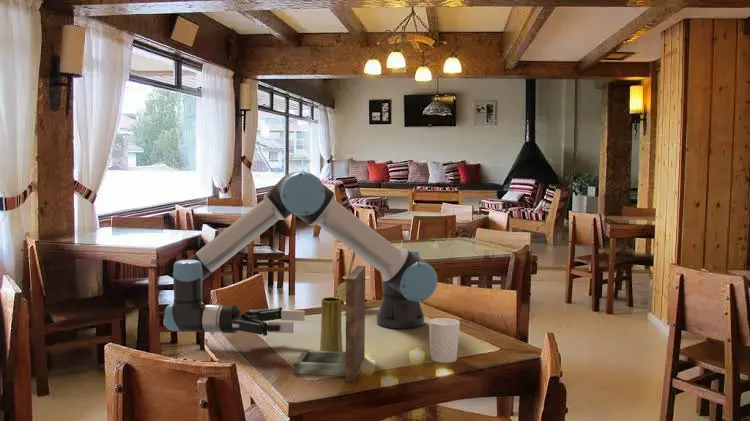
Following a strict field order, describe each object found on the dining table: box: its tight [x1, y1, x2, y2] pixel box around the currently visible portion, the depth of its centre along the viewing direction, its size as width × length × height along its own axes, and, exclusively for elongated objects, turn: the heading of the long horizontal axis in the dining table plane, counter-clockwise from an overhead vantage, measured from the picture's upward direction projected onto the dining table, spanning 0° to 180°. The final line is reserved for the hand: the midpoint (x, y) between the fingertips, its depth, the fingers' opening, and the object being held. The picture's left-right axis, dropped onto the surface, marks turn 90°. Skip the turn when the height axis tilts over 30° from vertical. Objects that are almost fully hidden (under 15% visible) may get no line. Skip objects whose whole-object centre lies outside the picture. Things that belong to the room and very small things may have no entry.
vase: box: [319, 296, 344, 352], centre depth 173 cm, size 6×6×14 cm
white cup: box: [428, 317, 461, 364], centre depth 167 cm, size 8×8×10 cm
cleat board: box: [292, 265, 366, 383], centre depth 159 cm, size 15×20×24 cm
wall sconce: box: [336, 247, 370, 303], centre depth 227 cm, size 14×10×25 cm
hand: (299, 321), depth 174 cm, fingers open, 13 cm apart
